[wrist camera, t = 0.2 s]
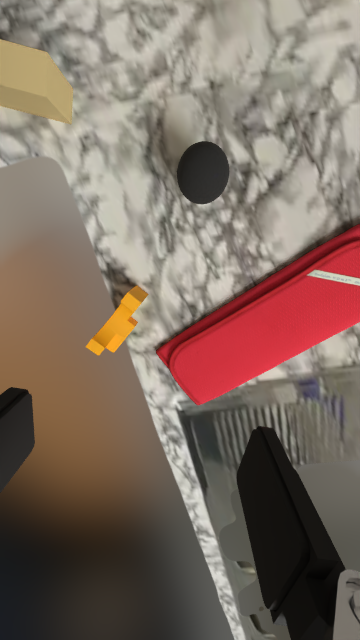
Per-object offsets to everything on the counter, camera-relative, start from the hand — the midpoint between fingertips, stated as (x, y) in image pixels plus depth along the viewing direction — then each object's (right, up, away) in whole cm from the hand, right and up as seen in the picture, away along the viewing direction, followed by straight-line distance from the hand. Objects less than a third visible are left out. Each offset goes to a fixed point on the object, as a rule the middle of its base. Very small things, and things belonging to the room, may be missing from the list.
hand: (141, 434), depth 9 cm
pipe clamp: (-8, +6, +31) cm, 33 cm away
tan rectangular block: (-19, +36, +21) cm, 46 cm away
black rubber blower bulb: (+5, +25, +24) cm, 35 cm away
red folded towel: (+18, +4, +31) cm, 36 cm away
